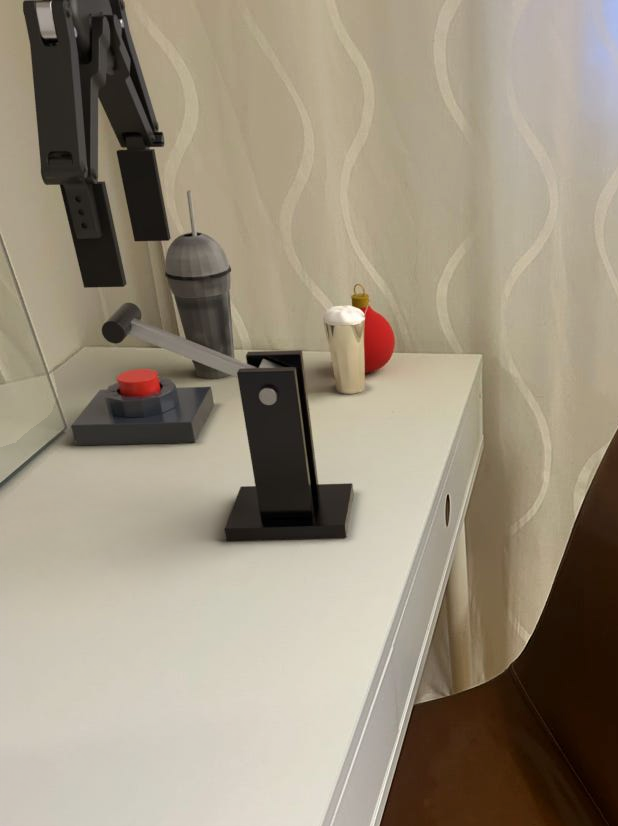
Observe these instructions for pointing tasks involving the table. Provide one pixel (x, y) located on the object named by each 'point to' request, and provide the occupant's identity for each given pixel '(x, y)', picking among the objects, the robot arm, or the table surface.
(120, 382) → the button
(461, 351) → the table surface
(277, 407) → the bracket
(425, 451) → the table surface
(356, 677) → the table surface
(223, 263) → the beverage cup
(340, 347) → the milkshake
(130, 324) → the lever
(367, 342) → the christmas ornament
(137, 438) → the control block
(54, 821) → the table surface
